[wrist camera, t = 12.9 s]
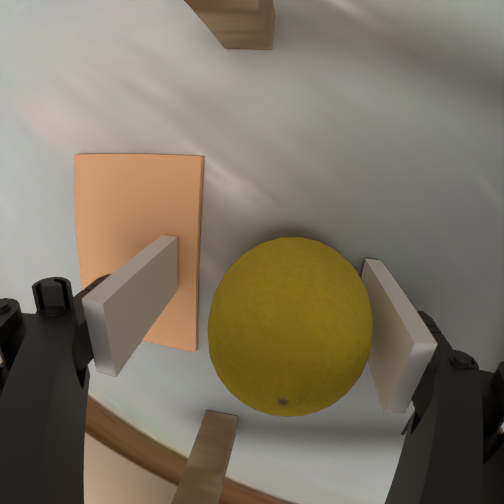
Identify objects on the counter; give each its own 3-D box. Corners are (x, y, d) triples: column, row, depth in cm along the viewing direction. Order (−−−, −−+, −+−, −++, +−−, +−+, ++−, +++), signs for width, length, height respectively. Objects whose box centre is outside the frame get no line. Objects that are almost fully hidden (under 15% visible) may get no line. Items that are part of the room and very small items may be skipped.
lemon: (229, 218, 14) (153, 299, 7) (356, 215, 13) (417, 299, 6) (239, 326, 16) (194, 453, 8) (349, 326, 15) (374, 459, 7)
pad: (204, 156, 13) (201, 156, 13) (198, 348, 17) (195, 352, 16) (79, 154, 14) (74, 154, 14) (91, 322, 17) (88, 325, 17)
